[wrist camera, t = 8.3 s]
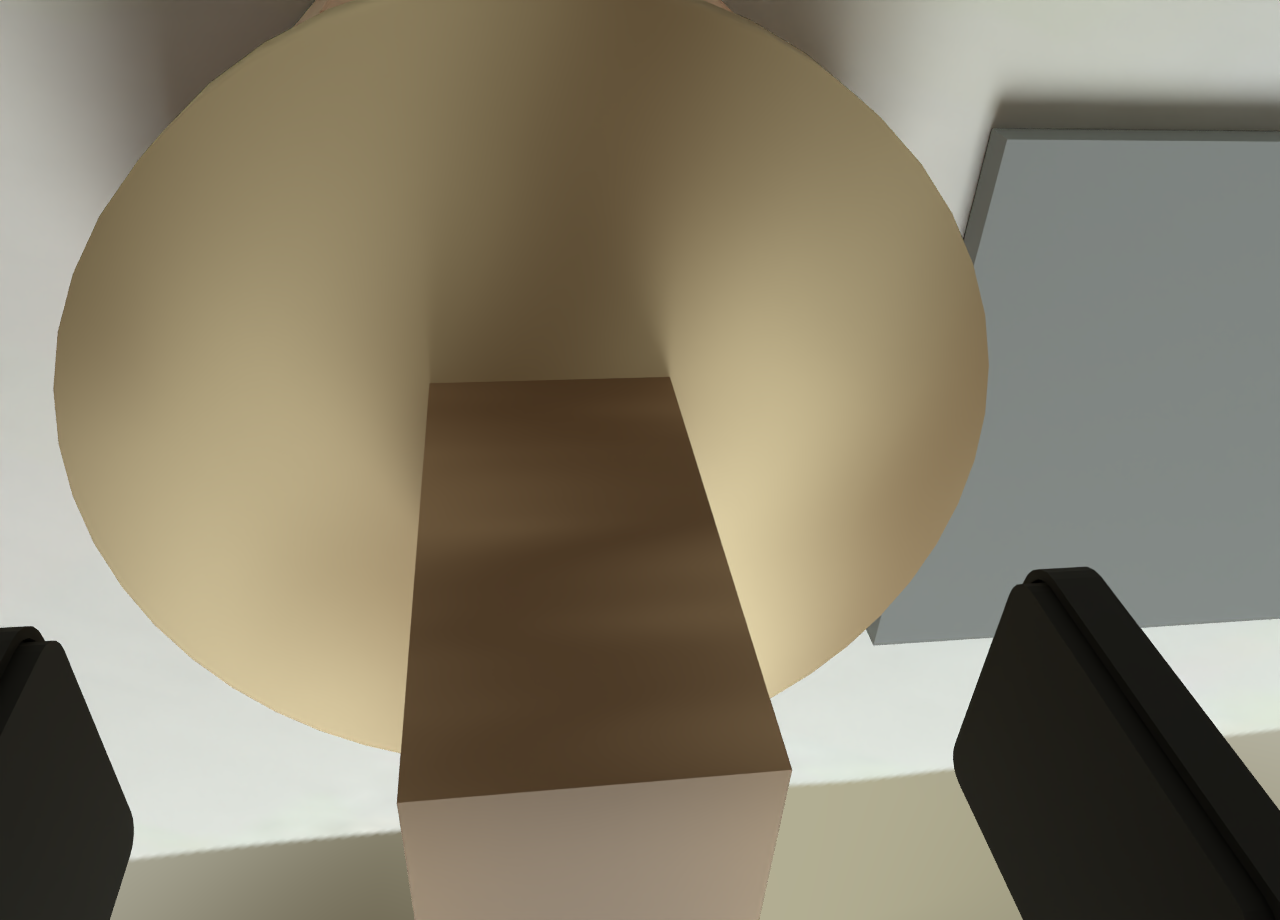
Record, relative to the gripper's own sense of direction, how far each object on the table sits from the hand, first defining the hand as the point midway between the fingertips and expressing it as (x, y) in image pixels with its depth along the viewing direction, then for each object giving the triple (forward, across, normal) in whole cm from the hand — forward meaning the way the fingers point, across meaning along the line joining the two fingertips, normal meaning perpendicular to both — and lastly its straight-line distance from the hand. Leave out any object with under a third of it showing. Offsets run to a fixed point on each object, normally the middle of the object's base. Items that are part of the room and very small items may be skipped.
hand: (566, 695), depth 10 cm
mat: (+9, -14, +3) cm, 17 cm away
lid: (+5, 0, 0) cm, 5 cm away
